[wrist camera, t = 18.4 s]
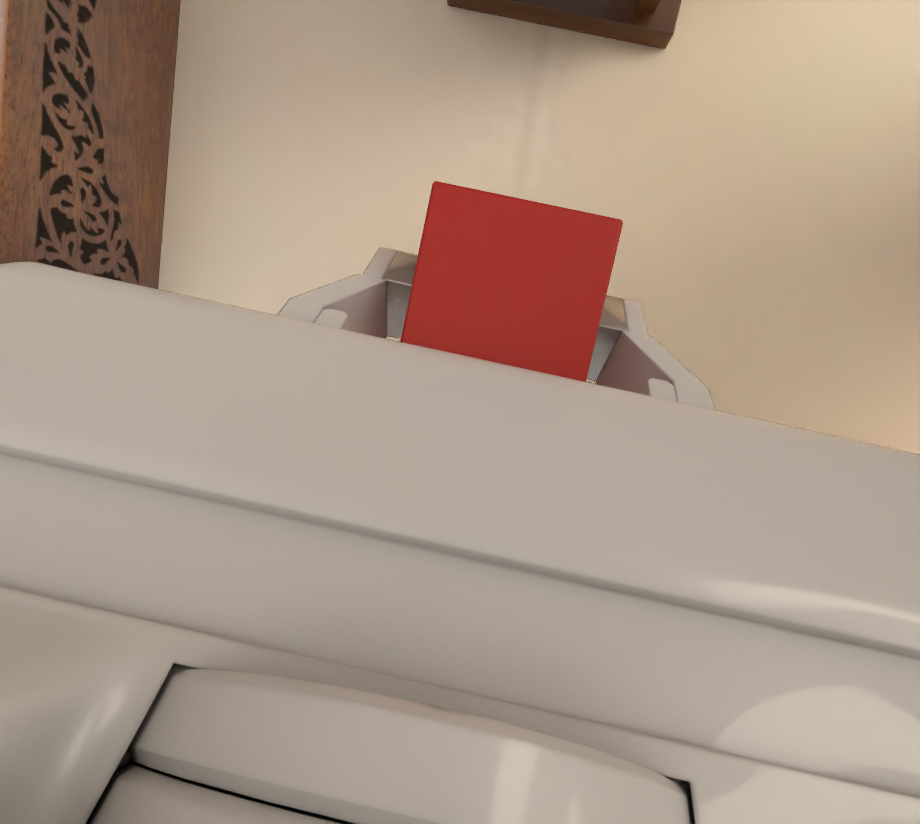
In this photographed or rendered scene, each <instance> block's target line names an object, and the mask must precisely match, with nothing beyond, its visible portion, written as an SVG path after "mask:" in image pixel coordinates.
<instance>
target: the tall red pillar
mask: <svg viewBox="0 0 920 824" xmlns="http://www.w3.org/2000/svg"><path fill="white" fill-rule="evenodd" d="M622 225H623V223H622V220H620V219H615V218H610V217H605V216H601V215H596V214H591V213H586V212H581V211H577V210H572V209H567V208H562V207H557V206H552V205H548V204H543V203H538V202H533V201H528V200H524V199H519V198H514V197H509V196H504V195H500V194H495V193H490V192H485V191H480V190H475V189H471V188H466V187H461V186H456V185H451V184H447V183H442V182H437V181H435V182H434V183H433V184H432V189H431V194H430V199H429V204H428V209H427V214H426V219H425V224H424V228H423V233H422V238H421V243H420V248H419V253H418V258H417V263H416V268H415V272H414V277H413V282H412V287H411V292H410V297H409V302H408V307H407V312H406V317H405V321H404V326H403V331H402V336H401V341H400V342H404V343H408V344H413V345H417V346H422V347H427V348H431V349H436V350H440V351H445V352H450V353H454V354H459V355H464V356H468V357H473V358H477V359H482V360H487V361H491V362H496V363H500V364H505V365H510V366H514V367H519V368H524V369H528V370H533V371H537V372H542V373H547V374H551V375H556V376H561V377H565V378H570V379H574V380H579V381H584V382H586V380H587V375H588V371H589V367H590V362H591V358H592V354H593V349H594V345H595V341H596V337H597V332H598V328H599V324H600V319H601V315H602V311H603V306H604V302H605V298H606V293H607V289H608V285H609V281H610V276H611V272H612V268H613V263H614V259H615V255H616V250H617V246H618V242H619V237H620V233H621V229H622Z"/></svg>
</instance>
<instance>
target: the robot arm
mask: <svg viewBox="0 0 920 824" xmlns="http://www.w3.org/2000/svg"><path fill="white" fill-rule="evenodd" d="M417 258H418V255H414V254H410V253H406V252H401V251H397V250H394V249H388V248H383V247H380V248H378V250H377V252H376V253H375V255H374V257H373V258H372V260H371V261H370V263H369V265H368V266H367V268H366V270H365V271H364V273H363V275H361V274H356V275H353V276H350V277H347V278H345V279H342V280H339V281H336V282H334V283H331V284H328V285H325V286H323V287H320V288H317V289H314V290H312V291H309V292H306V293H303V294H301V295H298V296H295V297H292V298H290V299H289V300H288V301H287V302H286V304H285V305H284V306H283V308H282V309H281V310H280V312H279V313H278V314H277V315H274V314H269V313H265V312H260V311H255V310H251V309H246V308H242V307H237V306H232V305H228V304H223V303H219V302H214V301H209V300H205V299H200V298H196V297H191V296H186V295H182V294H177V293H173V292H168V291H163V290H159V289H154V288H149V287H145V286H140V285H136V284H131V283H126V282H122V281H117V280H113V279H108V278H103V277H99V276H94V275H90V274H85V273H80V272H76V271H72V270H67V269H63V268H59V267H55V266H51V265H46V264H41V263H36V262H13V263H5V264H0V824H920V454H916V453H911V452H907V451H902V450H898V449H893V448H888V447H884V446H879V445H875V444H870V443H865V442H861V441H856V440H852V439H847V438H842V437H838V436H833V435H829V434H824V433H819V432H815V431H810V430H805V429H801V428H796V427H792V426H787V425H782V424H778V423H773V422H769V421H764V420H759V419H755V418H750V417H745V416H741V415H736V414H732V413H727V412H722V411H718V410H715V408H714V404H713V401H712V398H711V394H710V391H709V389H708V388H707V387H706V386H705V385H704V384H703V383H702V382H701V381H699V380H698V379H697V378H696V377H695V376H694V375H693V374H692V373H691V372H690V371H689V370H688V369H686V368H685V367H684V366H683V365H682V364H681V363H680V362H679V361H678V360H677V359H676V358H675V357H673V356H672V355H671V354H670V353H669V352H668V351H667V350H666V349H665V348H664V347H663V346H662V345H661V344H659V343H658V342H657V341H656V340H655V339H654V338H653V337H650V336H647V331H646V326H645V321H644V316H643V311H642V306H641V303H640V302H638V301H632V300H626V299H622V298H616V297H611V296H606V298H605V302H604V306H603V311H602V315H601V319H600V324H599V328H598V332H597V337H596V341H595V345H594V349H593V354H592V358H591V362H590V367H589V371H588V375H587V379H589V380H593V381H596V383H597V384H593V383H588V382H584V381H579V380H574V379H570V378H565V377H561V376H556V375H551V374H547V373H542V372H537V371H533V370H528V369H524V368H519V367H514V366H510V365H505V364H500V363H496V362H491V361H487V360H482V359H477V358H473V357H468V356H464V355H459V354H454V353H450V352H445V351H440V350H436V349H431V348H427V347H422V346H417V345H413V344H408V343H404V342H399V341H394V340H390V339H385V338H386V336H390V337H395V338H401V336H402V331H403V326H404V321H405V317H406V312H407V307H408V302H409V297H410V292H411V287H412V282H413V277H414V272H415V268H416V263H417Z"/></svg>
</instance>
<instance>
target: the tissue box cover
mask: <svg viewBox="0 0 920 824" xmlns="http://www.w3.org/2000/svg"><path fill="white" fill-rule="evenodd" d="M179 10H180V0H0V264H5V263H13V262H36V263H41V264H46V265H51V266H55V267H59V268H63V269H67V270H72V271H76V272H80V273H85V274H90V275H94V276H99V277H103V278H108V279H113V280H117V281H122V282H126V283H131V284H136V285H140V286H145V287H149V288H154V289H158V277H159V264H160V252H161V239H162V226H163V214H164V201H165V188H166V175H167V163H168V150H169V137H170V124H171V112H172V99H173V86H174V73H175V61H176V48H177V35H178V23H179Z"/></svg>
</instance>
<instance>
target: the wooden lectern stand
mask: <svg viewBox="0 0 920 824" xmlns="http://www.w3.org/2000/svg"><path fill="white" fill-rule="evenodd" d="M447 4H448V5H451V6H456V7H461V8H466V9H471V10H476V11H481V12H486V13H491V14H496V15H501V16H506V17H510V18H515V19H520V20H525V21H530V22H535V23H540V24H545V25H550V26H555V27H560V28H565V29H570V30H575V31H580V32H585V33H590V34H595V35H600V36H605V37H609V38H614V39H619V40H624V41H629V42H634V43H639V44H644V45H649V46H654V47H659V48H666V46H667V44H668V43H669V41H670V39H671V37H672V36H673V34H674V30H675V25H676V21H677V17H678V13H679V8H680V4H681V0H447Z"/></svg>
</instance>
